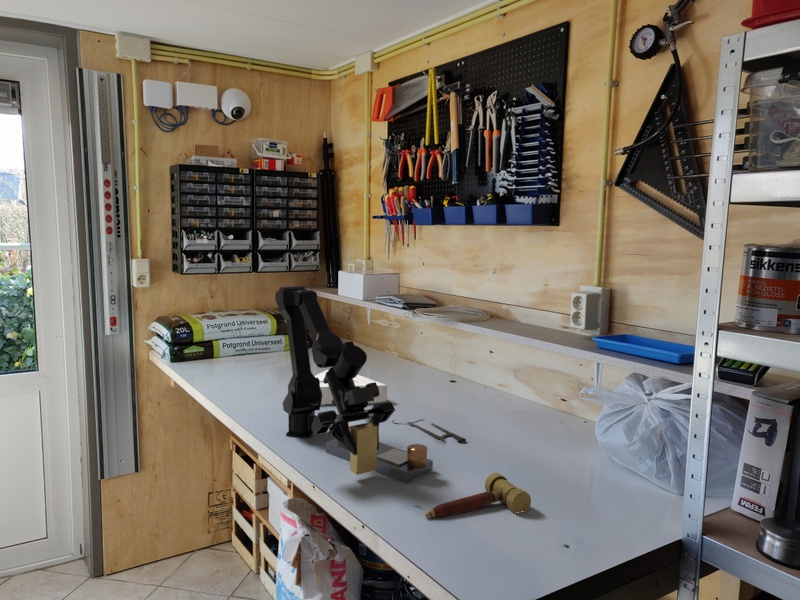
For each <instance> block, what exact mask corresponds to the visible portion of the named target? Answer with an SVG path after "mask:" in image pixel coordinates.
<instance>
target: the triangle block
mask: <svg viewBox="0 0 800 600" xmlns="http://www.w3.org/2000/svg"><path fill="white" fill-rule="evenodd" d="M329 369H330V368H328V369H326V370H324V371H322V372H319V373H318V374H316V375H314V376H315V378H318V379H319V380H320V389H321V391H322V401H321V406H326V405H325V404H332V400H333V396H332V394H331V391H330V388H329V385H328V383H326V384H324V378H325V375H326V372H328V370H329ZM353 381H354V384H355V386H359V387H360V388H364V387H366V385H367V384H369V383H374V382H376V384H377V386H378V388H379V393H380V394H379V396H377V397H374V401H369V402H368V403H378V402H384V401H388V385H387V384H385V383H382V382H380V381H376V380H373V379H371V378H368V377H366V376H362V375H360V374H357V376H356V377H355V378H353Z"/></svg>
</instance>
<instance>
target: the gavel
mask: <svg viewBox="0 0 800 600" xmlns="http://www.w3.org/2000/svg"><path fill="white" fill-rule="evenodd" d="M484 488H485V491H484V492H480V493H477V494H473V495H469V496H465V497H461V498H458V499H453V500H450V501H447V502H444V503H440V504H437V505H436V506H434V507H433V508H431V509H429V511H426V512H425V513H424V516H425V518H432V517H443V518H446V517H445V516H447V517H450V516H449V515H451V516H454V515H453V514H455V515H458V514H462V513H465V511H466V512H469V511H472V510H476V509H480V508H483V507H487V506H490V505H492V504H494V503H496V502H500V501H501V502H502V503H504V504H505V505H507V508H508V509H509V510H510V511H512V512H513V513H514V512H516V513H515V514H518V513H517V512H521V511H525V512H527V511H528V509H529V508H530V506H531V504H532V499H531V495H530V494H529V493H528V492H526V491H525V490H524V489H522V488H519V487H517V486H515V484H513V483H511V482H509V481H508V479H507V478H506V477H505V476H503V474H500V473H499V472H494V473H491V474H490V475H488V477H487V478H486V480H485V482H484ZM526 510H527V511H526ZM461 512H462V513H461ZM457 513H458V514H457ZM521 513H522V512H521Z"/></svg>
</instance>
